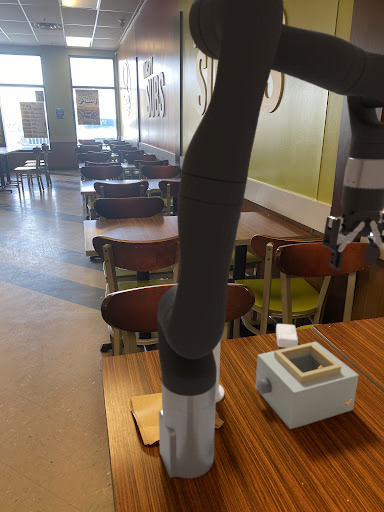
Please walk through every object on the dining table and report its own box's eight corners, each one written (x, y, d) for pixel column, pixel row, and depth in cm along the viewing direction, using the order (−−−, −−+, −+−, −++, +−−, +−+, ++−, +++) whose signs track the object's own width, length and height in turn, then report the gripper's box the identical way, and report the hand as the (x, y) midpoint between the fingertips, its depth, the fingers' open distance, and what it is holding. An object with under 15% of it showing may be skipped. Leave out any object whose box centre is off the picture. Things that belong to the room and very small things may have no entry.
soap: (275, 331, 117) (276, 322, 116) (294, 333, 116) (295, 324, 115) (277, 348, 109) (278, 338, 108) (297, 349, 108) (298, 340, 107)
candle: (219, 407, 86) (223, 303, 78) (189, 399, 88) (189, 298, 80) (227, 387, 92) (231, 289, 84) (198, 381, 94) (200, 285, 86)
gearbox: (281, 432, 79) (286, 388, 76) (247, 389, 92) (250, 350, 88) (352, 410, 85) (359, 368, 82) (311, 373, 98) (316, 335, 94)
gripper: (349, 188, 66) (336, 277, 72) (411, 184, 71) (395, 268, 77) (320, 182, 73) (311, 264, 78) (379, 178, 78) (366, 256, 83)
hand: (353, 266), depth 78 cm, fingers open, 8 cm apart
